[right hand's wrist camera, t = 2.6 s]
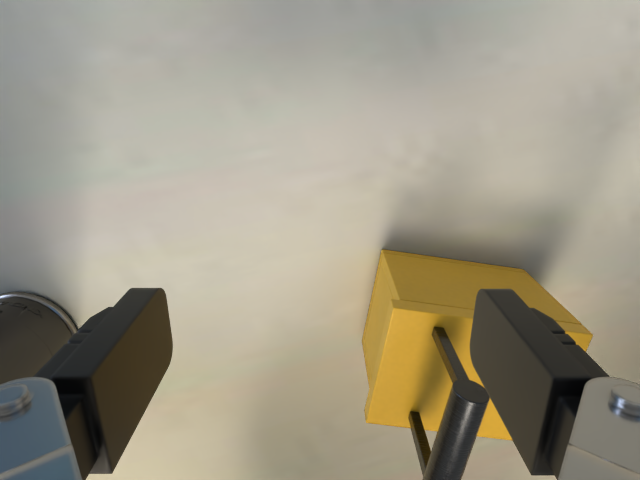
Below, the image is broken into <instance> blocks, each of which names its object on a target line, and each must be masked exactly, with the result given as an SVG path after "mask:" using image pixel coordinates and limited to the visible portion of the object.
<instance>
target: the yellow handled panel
mask: <svg viewBox="0 0 640 480" xmlns="http://www.w3.org/2000/svg"><path fill="white" fill-rule="evenodd" d="M473 316H474V310H470V309H463V308H455V307H448V306H441V305H433V304H426V303H419V302H411V301H404V300H396V299H390V303H389V307H388V311H387V315H386V320H385V324H384V328H383V333H382V337H381V341H380V345H379V350H378V354H377V358H376V363H375V367H374V371H373V375H372V380H371V384H370V388H369V393H368V397H367V401H366V405H365V410H364V411H365V418H366V423H372V424H381V425H389V426H397V427H405V428H411V431H412V435H413V439H414V443H415V446H416V450H417V454H418V458H419V462H420V466H421V470H422V474H423V480H461V478H462V475H463V473H464V470H465V467H466V464H467V461H468V459H469V456H470V453H471V450H472V447H473V445H474V442H475V439H476V436H480V437H488V438H496V439H505V440H512V438H511V436H510V434H509V432H508V430H507V429H506V427H505V425H504V423H503V421H502V419H501V417H500V415H499V414H498V412H497V410H496V408H495V406H494V404H493V402H492V401H491V399H490V397H489V395H488V393H487V391H486V389H485V387H484V386H483V384H482V382H481V380H480V378H479V376H478V374H477V372H476V371H475V369H474V367H473V364H472V361H471V357H470V337H471V330H472V323H473ZM556 322H557V323H558V324H559V325H560V326H561V327H562V328H563V329H564V331H565V333H566V334H568V335H569V336H570V337H571V338H572V339H573V340H574V341H575V342H576V345H579V346H580V347H581V348H582V349H583V350H584V351H585V352H586V350H587V348H588V346H589V343H590V341H591V339H592V336H593V334H592V333H591V332H590V331H588V330H587V329H586V328H585V327H584V326H583V325H580V324H573V323H566V322H558V321H556ZM425 430H430V431H438V432H437V435H436V438H435V442H434V445H433V448H432V451H431V450H430V447H429V443H428V440H427V437H426V433H425Z"/></svg>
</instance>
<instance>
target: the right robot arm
mask: <svg viewBox="0 0 640 480" xmlns="http://www.w3.org/2000/svg"><path fill="white" fill-rule="evenodd" d="M172 349H173V342H172V334H171V327H170V320H169V313H168V306H167V298H166V294H165V291H164V290H163V289H162V288H131V289H129V290H128V291H127V293H126V294H125V295H124V296H123V297H122V298H121V299H120V300H119V301H118V302H117V304H116V305H115V306H114V307H108V308H106V309H104V310H103V311H101V312H99V313H98V314H96V315H94V316H92V317H91V318H89V319H88V320H87V321H86V322H85V323H84V325H83V326H82V327H81V328H80V329H79V330H78V331H77V329H76V327H75V325H74V323H73V322H72V320H71V319H70V318H69V316H68V315H67V314H66V313H65V312H64V311H63V310H62V309H61V308H60V307H58V306H57V305H55V304H54V303H53V302H51V301H49V300H47V299H45V298H43V297H40V296H38V295H34V294H30V293H25V292H9V293H4V294H1V295H0V480H86V478H87V476H88V474H112V473H113V471H114V469H115V467H116V465H117V463H118V461H119V459H120V457H121V456H122V454H123V452H124V450H125V448H126V446H127V444H128V442H129V440H130V439H131V437H132V435H133V433H134V431H135V429H136V427H137V425H138V423H139V421H140V420H141V418H142V416H143V414H144V412H145V410H146V408H147V406H148V404H149V403H150V401H151V399H152V397H153V395H154V393H155V391H156V389H157V387H158V386H159V384H160V382H161V380H162V378H163V376H164V374H165V372H166V370H167V369H168V367H169V364H170V361H171V357H172ZM470 357H471V361H472V364H473V367H474V369H475V371H476V372H477V374H478V376H479V378H480V380H481V382H482V384H483V386H484V387H485V389H486V391H487V393H488V395H489V397H490V399H491V401H492V402H493V404H494V406H495V408H496V410H497V412H498V414H499V415H500V417H501V419H502V421H503V423H504V425H505V427H506V429H507V430H508V432H509V434H510V436H511V438H512V440H513V442H514V444H515V445H516V447H517V449H518V451H519V453H520V455H521V457H522V458H523V460H524V462H525V464H526V466H527V468H528V470H529V472H530V473H531V475H555V477H556V478H557V480H640V385H639V384H637V383H634V382H631V381H628V380H624V379H619V378H613V377H609V376H608V375H607V374H606V373H605V372H604V370H603V369H602V368H601V367H600V366H599V365H598V364H597V363H596V362H595V361H594V360H593V359H592V358H591V357H590V356H589V355H588V354H587V353H586V352H585V351H584V350H583V349H582V348H581V347H580V346H579V345H576V342H575V341H574V340H573V339H572V338H571V337H570V336H569V335H568V334H566V333H565V331H564V329H563V328H562V327H561V326H560V325H559V324H558V323H557V322H556V321H555V320H554V319H553V318H551V317H549V316H547V315H546V314H544V313H542V312H540V311H539V310H537V309H535V308H529V307H528V306H527V305H526V303H525V302H524V301H523V300H522V299H521V298H520V297H519V296H518V295H517V294H516V293H515V291H514V290H512V289H480V290H479V291H478V293H477V296H476V302H475V309H474V316H473V323H472V330H471V337H470Z"/></svg>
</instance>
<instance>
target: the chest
mask: <svg viewBox="0 0 640 480" xmlns="http://www.w3.org/2000/svg"><path fill="white" fill-rule="evenodd" d="M480 289H512V290H514V291H515V293H516V294H517V295H518V296H519V297H520V298H521V299H522V300H523V301H524V302H525V303H526V305H527V306H528V307H529V308H535V309H537V310H539V311H540V312H542V313H544V314H546V315H547V316H549V317H551V318H553V319H554V320H555V321H558V322H566V323H573V324H580V325H581V323H580V322H579V321H578V320H577V319H576V318H575V317H574V316H573V315H572V314H571V313H569V312H568V311H567V310H566V309H565V308H564V307H563V306H562V305H561V304H560V303H559V302H558V301H557V300H556V299H555V298H553V297H552V296H551V295H550V294H549V293H548V292H547V291H546V290H545V289H544V288H543V287H542V286H541V285H540V284H539V283H537V282H536V281H535V280H534V279H533V278H532V277H531V276H530V275H529V274H528V273H527V272H526V271H525V270H523V269H518V268H511V267H504V266H497V265H489V264H482V263H475V262H468V261H461V260H454V259H447V258H440V257H433V256H426V255H419V254H412V253H405V252H398V251H391V250H384V249H382V250H381V255H380V260H379V264H378V269H377V274H376V278H375V283H374V288H373V292H372V297H371V301H370V306H369V311H368V315H367V320H366V325H365V329H364V334H363V339H362V344H363V351H364V357H365V363H366V370H367V376H368V382H369V388H370V384H371V380H372V375H373V371H374V367H375V363H376V358H377V354H378V350H379V345H380V341H381V337H382V333H383V328H384V324H385V320H386V315H387V311H388V307H389V303H390V299H396V300H404V301H411V302H419V303H426V304H433V305H441V306H448V307H455V308H463V309H470V310H474V309H475V302H476V296H477V293H478V291H479V290H480Z"/></svg>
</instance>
